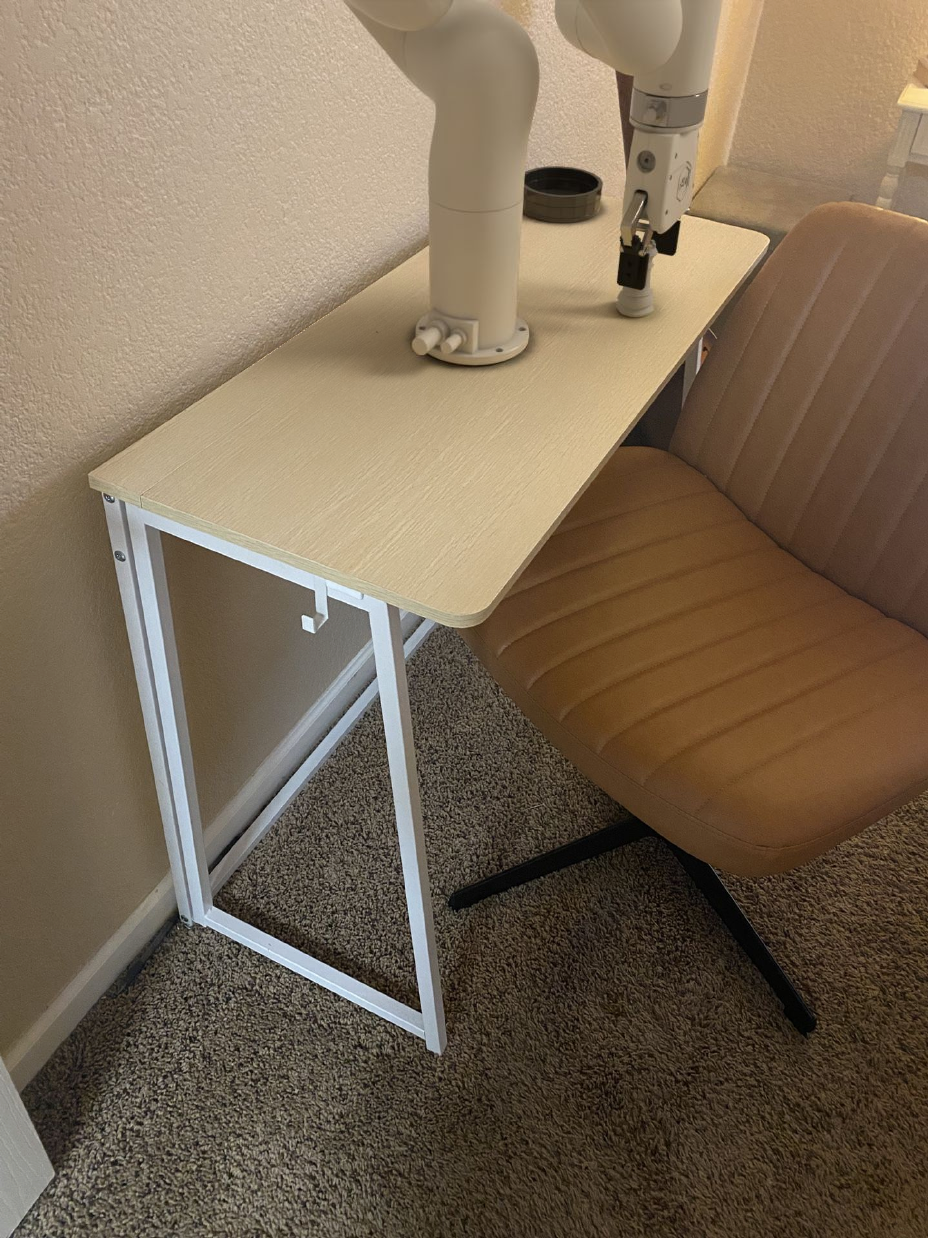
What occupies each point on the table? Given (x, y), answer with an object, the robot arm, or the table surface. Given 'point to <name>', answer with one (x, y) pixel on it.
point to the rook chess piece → (638, 293)
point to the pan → (561, 194)
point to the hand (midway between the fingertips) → (646, 269)
